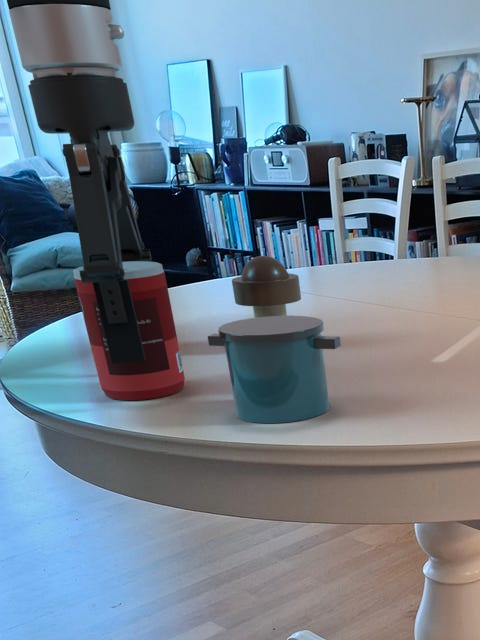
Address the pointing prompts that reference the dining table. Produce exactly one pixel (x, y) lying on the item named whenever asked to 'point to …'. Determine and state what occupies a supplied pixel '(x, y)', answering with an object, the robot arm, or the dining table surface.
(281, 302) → the wooden mushroom
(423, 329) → the dining table surface
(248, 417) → the enamel pot
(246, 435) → the dining table surface
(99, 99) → the robot arm
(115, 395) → the canned food
